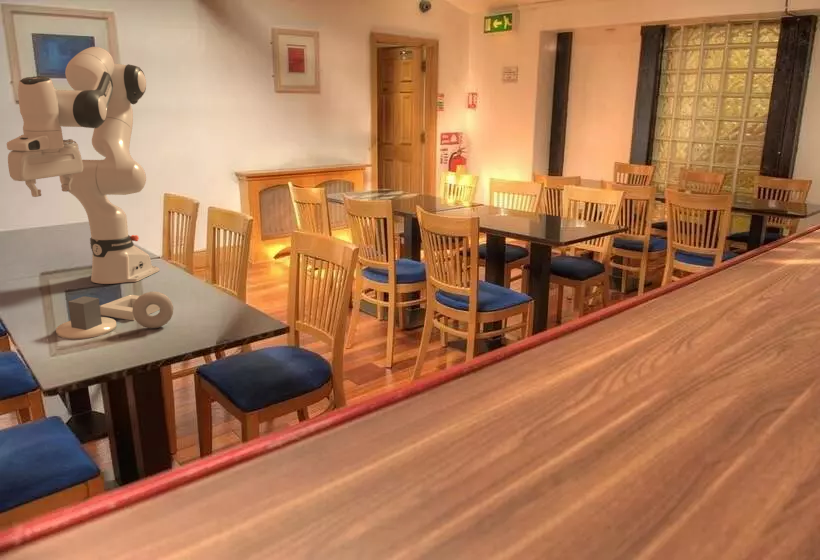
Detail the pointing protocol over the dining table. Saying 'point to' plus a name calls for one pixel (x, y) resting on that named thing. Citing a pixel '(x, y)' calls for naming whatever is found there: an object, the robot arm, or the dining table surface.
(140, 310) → the donut
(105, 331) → the peach ellipsoid
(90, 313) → the block
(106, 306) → the pocket collar
